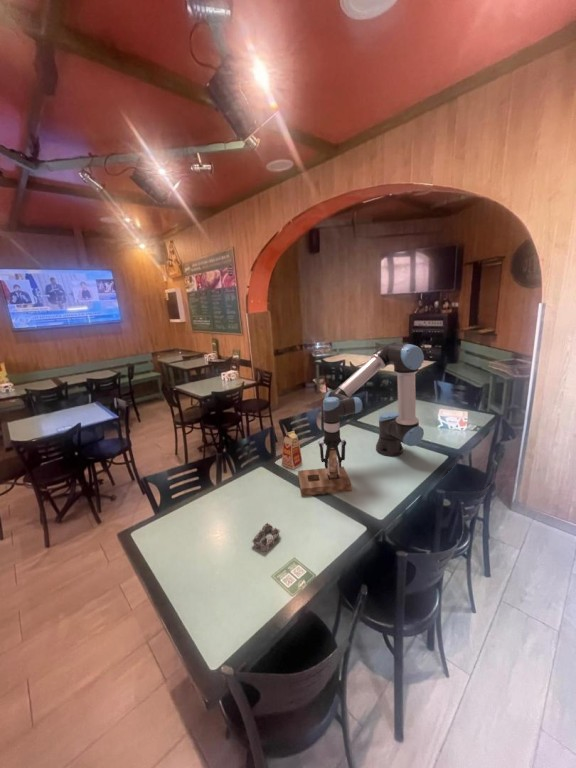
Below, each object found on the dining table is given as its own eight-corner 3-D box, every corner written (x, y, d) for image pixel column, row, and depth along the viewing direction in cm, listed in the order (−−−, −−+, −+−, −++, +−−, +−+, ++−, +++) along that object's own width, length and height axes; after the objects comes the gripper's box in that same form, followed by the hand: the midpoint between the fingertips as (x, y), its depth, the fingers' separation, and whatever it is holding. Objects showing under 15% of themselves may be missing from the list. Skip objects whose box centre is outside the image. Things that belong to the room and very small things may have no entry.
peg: (336, 475, 157) (335, 446, 153) (338, 480, 153) (337, 450, 149) (328, 476, 157) (327, 447, 153) (330, 481, 153) (328, 451, 149)
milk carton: (294, 469, 171) (291, 435, 165) (281, 465, 176) (278, 432, 171) (303, 462, 178) (301, 429, 172) (290, 458, 183) (288, 426, 178)
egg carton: (268, 529, 127) (267, 521, 126) (283, 537, 123) (282, 528, 122) (250, 546, 119) (249, 537, 118) (265, 554, 115) (264, 545, 114)
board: (343, 473, 164) (343, 466, 162) (351, 491, 148) (351, 483, 147) (298, 477, 162) (297, 470, 161) (301, 496, 147) (301, 488, 146)
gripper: (347, 424, 152) (348, 467, 158) (312, 427, 151) (314, 470, 157) (351, 431, 145) (352, 475, 151) (315, 434, 144) (317, 479, 150)
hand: (333, 473), depth 154 cm, fingers closed on peg, 4 cm apart
